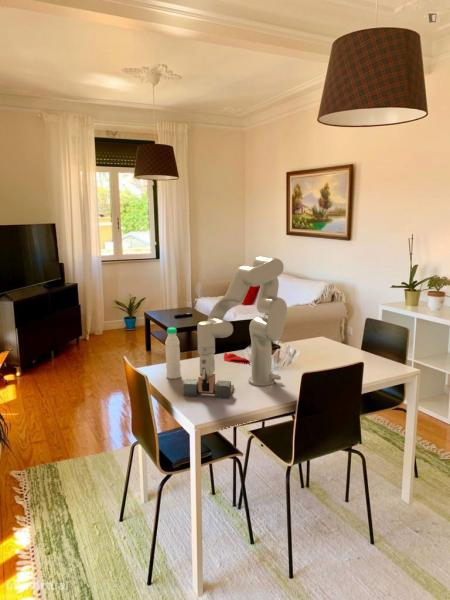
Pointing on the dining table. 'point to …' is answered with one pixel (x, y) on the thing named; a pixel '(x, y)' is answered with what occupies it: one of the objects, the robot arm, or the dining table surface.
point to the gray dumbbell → (221, 392)
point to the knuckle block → (211, 382)
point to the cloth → (234, 358)
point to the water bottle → (172, 354)
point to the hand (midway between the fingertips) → (207, 388)
